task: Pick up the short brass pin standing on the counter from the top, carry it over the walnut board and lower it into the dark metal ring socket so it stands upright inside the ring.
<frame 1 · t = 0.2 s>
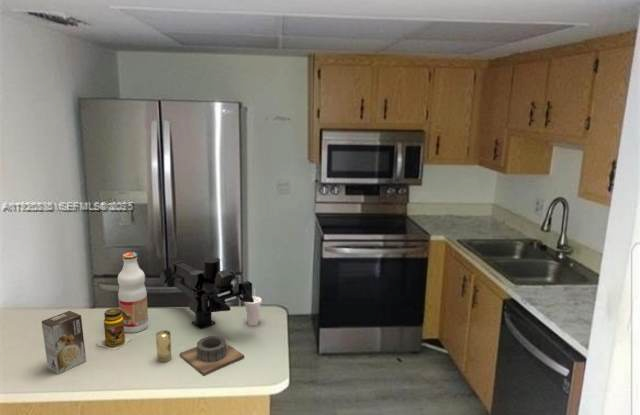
hand: (241, 304, 156), 17 cm above the counter, tool horizontal, fingers open, 9 cm apart
smoothie: (253, 323, 179), on the counter
condiment: (113, 343, 163), on the counter
coffee box: (67, 365, 149), on the counter
ring socket: (211, 357, 156), on the counter
brass pin: (164, 359, 154), on the counter
fruit juice: (134, 327, 174), on the counter
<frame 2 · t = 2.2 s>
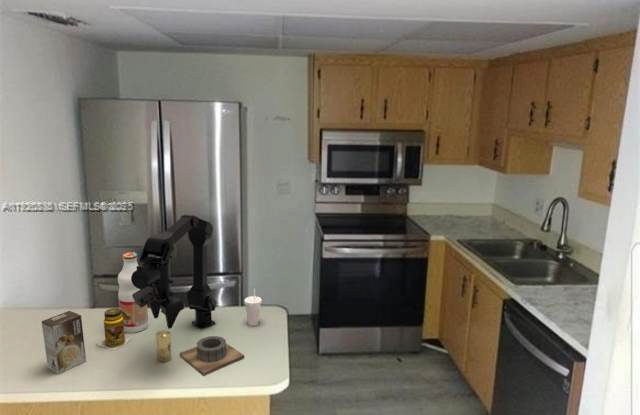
hand: (162, 323, 151), 13 cm above the counter, tool pointing down, fingers open, 9 cm apart
nothing on the counter moved.
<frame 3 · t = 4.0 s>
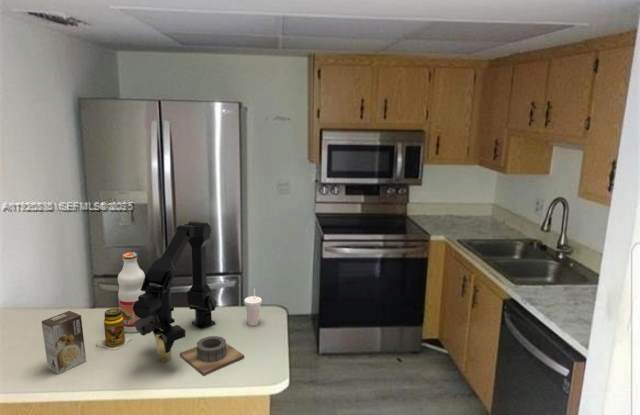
hand: (164, 349, 153), 3 cm above the counter, tool pointing down, fingers closed on brass pin, 4 cm apart
brass pin: (164, 359, 154), on the counter, touching gripper
everything else where it was.
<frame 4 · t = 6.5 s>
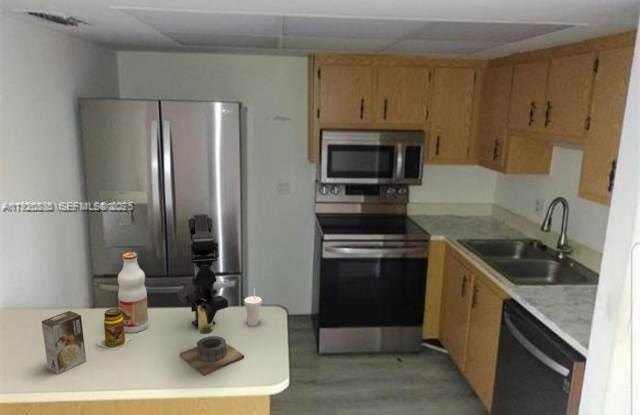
hand: (205, 320, 152), 13 cm above the counter, tool pointing down, fingers closed on brass pin, 4 cm apart
brass pin: (205, 330, 153), point 10 cm above the counter, touching gripper
everything else where it was.
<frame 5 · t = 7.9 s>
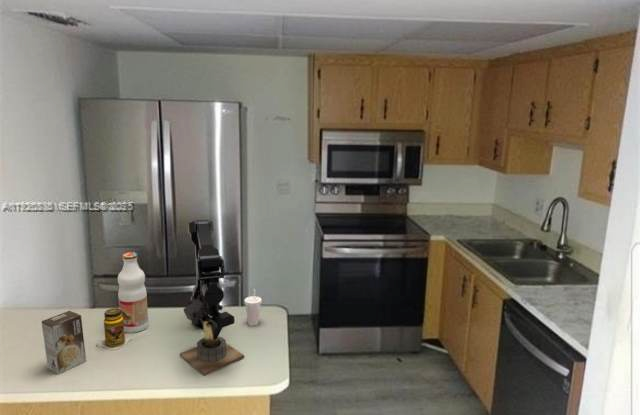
hand: (211, 336, 154), 7 cm above the counter, tool pointing down, fingers closed on brass pin, 4 cm apart
brass pin: (211, 345, 155), point 4 cm above the counter, touching gripper
everything else where it was.
when the fingers open (6 cm above the counter, at t = 9.0 s): brass pin drops 2 cm, resting on ring socket.
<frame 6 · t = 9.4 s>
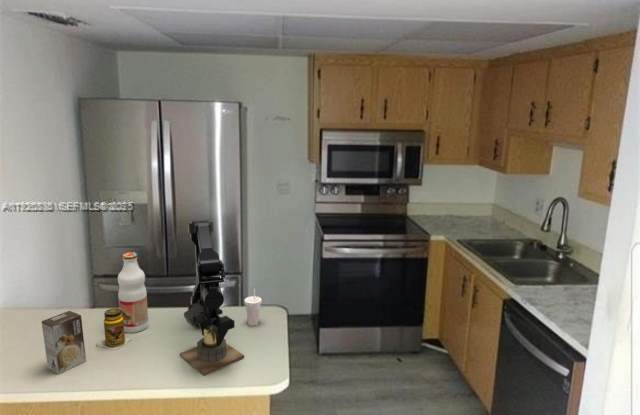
hand: (211, 340, 154), 6 cm above the counter, tool pointing down, fingers open, 8 cm apart
brass pin: (211, 354, 156), point 1 cm above the counter, touching ring socket
everything else where it was.
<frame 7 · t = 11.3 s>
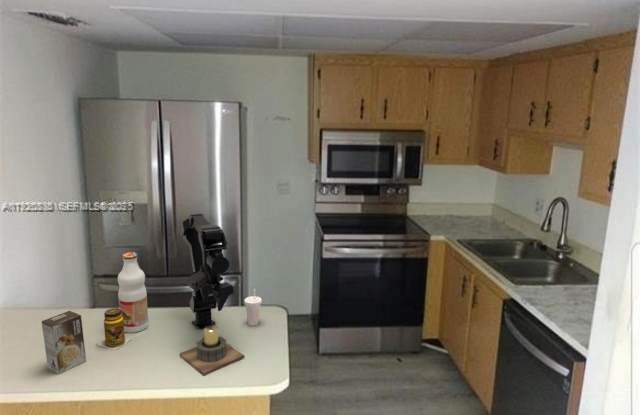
hand: (212, 305, 164), 13 cm above the counter, tool pointing down, fingers open, 9 cm apart
nothing on the counter moved.
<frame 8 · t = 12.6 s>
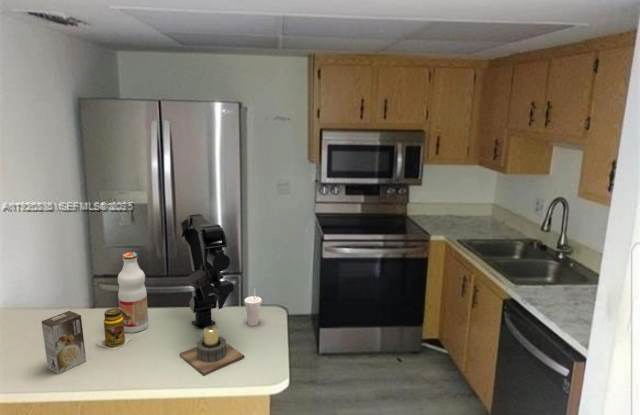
hand: (213, 304, 164), 13 cm above the counter, tool pointing down, fingers open, 9 cm apart
nothing on the counter moved.
at the end: brass pin 0.1 cm from the ring socket (horizontally); brass pin tilted 0°; brass pin point 1.0 cm above the counter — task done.
